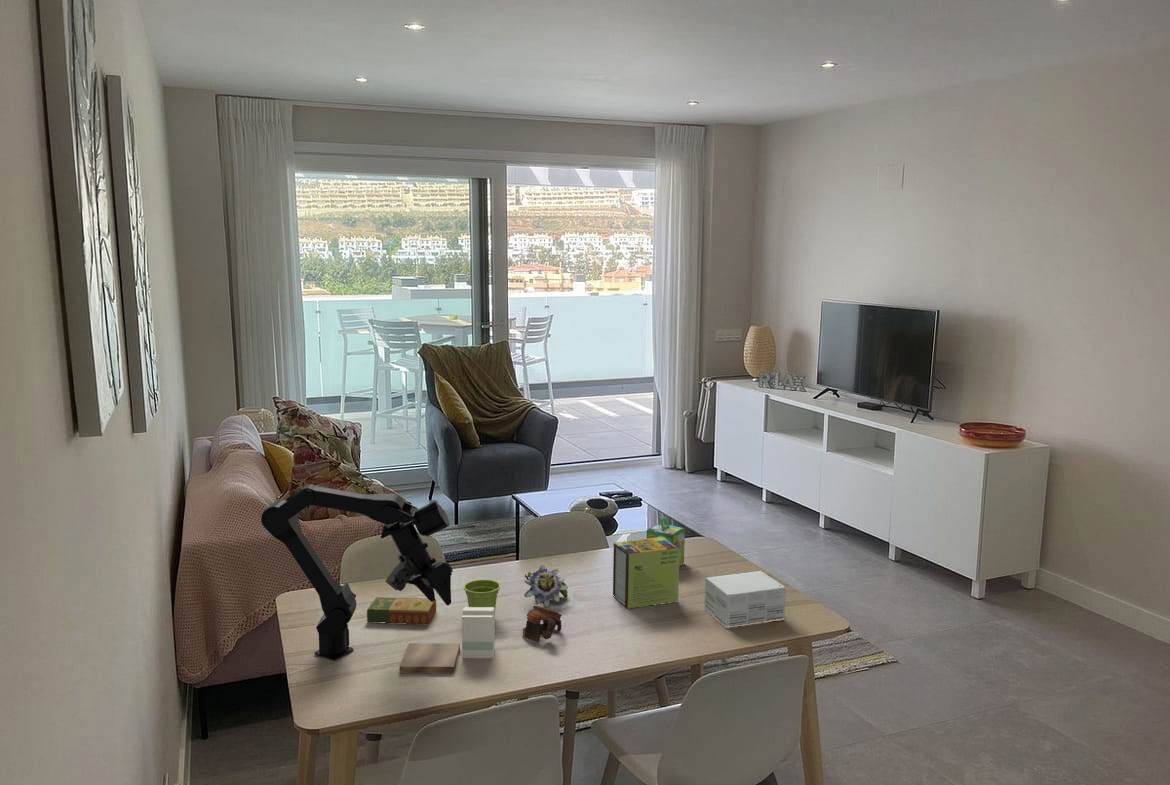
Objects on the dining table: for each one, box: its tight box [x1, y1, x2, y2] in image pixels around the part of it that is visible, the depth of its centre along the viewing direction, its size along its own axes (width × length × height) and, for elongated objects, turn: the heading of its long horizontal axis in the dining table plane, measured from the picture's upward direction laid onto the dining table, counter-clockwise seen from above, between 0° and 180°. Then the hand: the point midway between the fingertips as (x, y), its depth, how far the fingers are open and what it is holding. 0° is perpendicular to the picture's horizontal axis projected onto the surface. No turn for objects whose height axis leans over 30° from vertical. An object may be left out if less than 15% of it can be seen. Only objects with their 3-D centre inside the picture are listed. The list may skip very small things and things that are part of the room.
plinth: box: [399, 642, 461, 674], centre depth 198 cm, size 12×12×2 cm
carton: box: [366, 596, 437, 625], centre depth 222 cm, size 8×16×4 cm, turn 87°
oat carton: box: [461, 606, 496, 659], centre depth 202 cm, size 7×6×11 cm
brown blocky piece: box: [521, 605, 563, 643], centre depth 212 cm, size 12×10×8 cm
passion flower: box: [524, 563, 568, 608], centre depth 234 cm, size 11×11×12 cm
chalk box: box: [646, 515, 686, 567], centre depth 263 cm, size 9×9×15 cm
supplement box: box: [704, 570, 786, 627], centre depth 226 cm, size 17×13×9 cm
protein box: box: [612, 537, 680, 610], centre depth 236 cm, size 10×15×16 cm
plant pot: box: [463, 579, 501, 616], centre depth 222 cm, size 9×9×9 cm
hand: (441, 602), depth 201 cm, fingers open, 9 cm apart
